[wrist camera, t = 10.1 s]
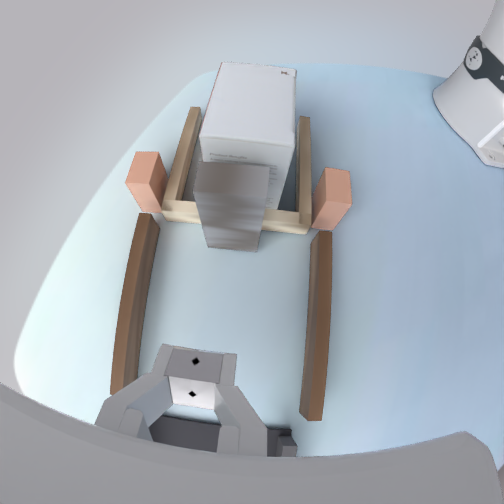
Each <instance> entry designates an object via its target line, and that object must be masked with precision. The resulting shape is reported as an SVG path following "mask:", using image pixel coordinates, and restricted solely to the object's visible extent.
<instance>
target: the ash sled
mask: <svg viewBox="0 0 504 504" xmlns="http://www.w3.org/2000/svg"><path fill="white" fill-rule="evenodd" d="M201 122H202V117H201V109H200V107H190V110H189V113H188V116H187V119H186V122H185V125H184V129H183V132H182V135H181V138H180V141H179V145H178V148H177V151H176V155H175V158H174V162H173V165H172V169H171V172H170V176H169V180H168V184H167V187H166V191H165V195H164V199H163V203H162V207H161V212H162V214H163V216H164V218H165V220H166V221H175V222H186V223H197V224H202V228H203V231H204V235H205V239H206V242H207V246H208V247H211V248H221V249H231V250H240V251H250V252H257V249H258V243H259V238H260V233H261V230H267V231H277V232H286V233H295V234H304V235H306V234H307V232H308V230H309V228H310V227H311V137H310V117H304V116H300V118H299V122H298V126H297V154H296V200H295V212H292V211H283V210H275V209H265V207H266V201H267V194H268V181H269V168H270V167H261V166H252V165H241V164H230V163H217V162H202V161H199V164H198V169H197V173H196V177H195V182H194V186H193V195H194V199H195V202H191V201H182V197H183V192H184V188H185V184H186V179H187V175H188V171H189V167H190V163H191V159H192V155H193V151H194V147H195V144H196V140H197V136H198V132H199V129H200V125H201Z"/></svg>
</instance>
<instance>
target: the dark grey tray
mask: <svg viewBox="0 0 504 504" xmlns="http://www.w3.org/2000/svg"><path fill="white" fill-rule="evenodd" d="M221 427H222V425H220V424H212V423H204V422H197V421H191V420H185V419H179V418H173V417H168V416H163V415H161V416H160V417H159V418H158V419H157V420H156V421H155V422H154V423H152V424H151V425H150V426H149V427H148V429H149V431H150V434H151V437H152V439H153V442H157V443H162V444H167V445H171V446H177V447H182V448H188V449H194V450H201V451H208V452H215V453H217V446H218V439H219V432H220V428H221ZM291 432H292V430H291V429H269V428H267V457H296V453H297V445H296V443H295V442H294V440H293V438H292V437H291Z"/></svg>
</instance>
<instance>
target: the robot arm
mask: <svg viewBox="0 0 504 504" xmlns="http://www.w3.org/2000/svg"><path fill="white" fill-rule="evenodd" d="M433 98H434V101H435V104H436V106H437V108H438V109H439V111H440V113H441V114H442V116H443V117H444V118H445V120H446V121H447V122H448V123H449V125H450V126H451V127H452V128H453V129H454V130H455V131H456V132H457V133H458V134H459V135H460V136H461V137H462V138H463V139H464V140H465V141H466V142H467V143H468V144H469V145H470V146H471V147H472V148H473V150H474V151H475V152H476V154H477V155H478V156H479V158H480V159H481V160H482V161H483V162H484V163H485V164H486V165H490V166H495V167H500V168H504V0H496V2H495V6H494V8H493V11H492V14H491V16H490V18H489V20H488V22H487V24H486V26H485V28H484V30H483V32H482V34H481V35H480V36H476V38H475V39H474V41H473V43H472V44H471V46H470V47H469V49H468V51H467V54H466V56H465V59H464V61H463V62H462V63H461V65H460V66H459V67H458V68H457V69H456V70H455V72H454V73H453V74H452V75H451V76H450V77H449V78H448V79H447V80H446V81H444V82H443V83H442V84H441V85H440V86H438V87H437V88H435V89H434V91H433ZM236 360H237V354H232V353H223V352H214V351H206V350H196V349H190V348H185V347H179V346H173V345H167V344H162V345H161V347H160V349H159V352H158V354H157V357H156V360H155V362H154V365H153V368H152V370H151V373H148V372H147V373H145V374H144V375H142V376H141V377H139V378H138V379H136V380H135V381H133V382H132V383H130V384H129V385H127V386H126V387H124V388H123V389H121V390H120V391H118V392H117V393H115V394H114V395H112V396H111V397H109V398H107V399H106V400H105V401H104V403H103V405H102V408H101V410H100V412H99V415H98V417H97V419H96V422H95V424H94V425H93V424H90V423H88V422H85V421H82V420H79V419H77V418H74V417H72V416H69V415H67V414H64V413H62V412H59V411H57V410H55V409H52V408H50V407H48V406H46V405H43V404H41V403H39V402H37V401H35V400H33V399H31V398H29V397H27V396H25V395H23V394H21V393H19V392H17V391H15V390H13V389H12V388H10V387H7V386H6V385H4V384H3V383H1V382H0V504H504V499H503V494H502V489H501V484H500V480H499V476H498V473H497V469H496V466H495V463H494V459H493V456H492V454H491V452H490V450H489V448H488V447H487V446H486V445H485V444H484V443H483V442H481V441H480V440H479V439H477V438H476V437H475V436H473V435H472V434H470V433H468V432H466V431H461V432H456V433H453V434H450V435H446V436H443V437H439V438H436V439H432V440H428V441H424V442H419V443H415V444H410V445H406V446H401V447H395V448H390V449H384V450H378V451H371V452H363V453H355V454H345V455H333V456H315V457H267V427H266V426H265V425H264V423H263V422H262V420H261V419H260V418H259V416H258V415H257V413H256V412H255V411H254V409H253V408H252V406H251V405H250V404H249V402H248V401H247V399H246V398H245V396H244V395H243V393H242V392H241V390H240V389H239V387H238V386H234V380H235V370H236ZM173 404H179V405H185V406H194V407H199V408H205V409H211V410H214V411H215V413H216V415H217V417H218V419H219V421H220V423H221V425H222V427H221V428H220V432H219V439H218V446H217V453H215V452H208V451H201V450H194V449H188V448H182V447H177V446H171V445H167V444H162V443H157V442H153V439H152V437H151V434H150V431H149V429H148V427H149V426H150V425H151V424H152V423H154V422H155V421H156V420H157V419H158V418H159V417H160V416H161V415H162V414H163V413H164V412H165V411H167V410H168V409H169V408H170V407H171V406H172V405H173Z"/></svg>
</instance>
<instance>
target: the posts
mask: <svg viewBox="0 0 504 504" xmlns="http://www.w3.org/2000/svg"><path fill="white" fill-rule="evenodd" d="M168 180H169V179H168V176H167V174H166V171H165V168H164V165H163V163H162V160H161V157H160V154H159V152H136V153H135V156H134V159H133V161H132V164H131V167H130V170H129V173H128V176H127V179H126V182H125V183H126V185H127V187H128V188H129V190H130V192H131V193H132V195H133V197H134V198H135V200H136V201H137V203H138V205H139V206H140V208H141V209H142V211H143V212H154V213H162V212H161V207H162V203H163V199H164V195H165V191H166V187H167V184H168ZM351 205H352V195H351V183H350V172H349V171H346V170H340V169H334V168H328V167H325V169H324V171H323V173H322V175H321V178H320V180H319V182H318V184H317V186H316V189H315V191H314V193H313V195H312V197H311V228H316V229H324V230H332V231H333V229H334V228H335V227H336V225H337V224H338V223H339V221H340V220H341V219H342V217H343V216H344V215H345V213H346V212H347V211H348V209H349V208H350V207H351Z"/></svg>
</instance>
